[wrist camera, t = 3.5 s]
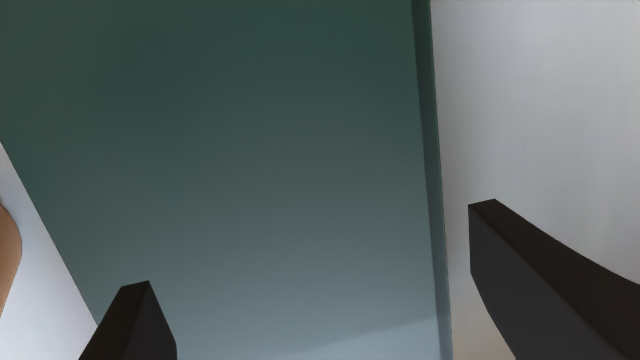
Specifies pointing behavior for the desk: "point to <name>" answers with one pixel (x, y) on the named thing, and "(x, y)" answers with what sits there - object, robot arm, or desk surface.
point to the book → (239, 167)
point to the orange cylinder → (8, 254)
